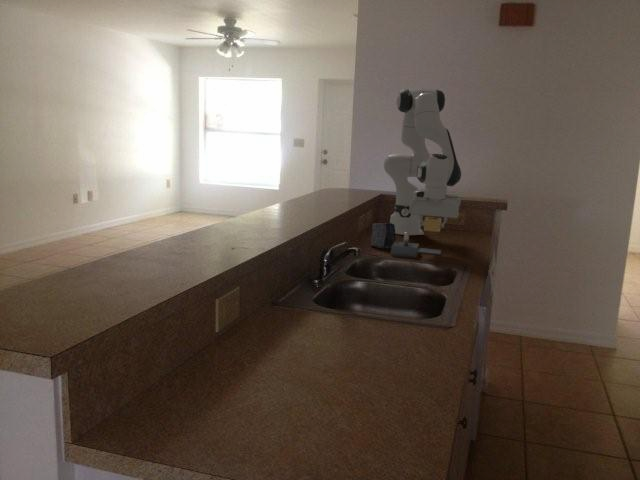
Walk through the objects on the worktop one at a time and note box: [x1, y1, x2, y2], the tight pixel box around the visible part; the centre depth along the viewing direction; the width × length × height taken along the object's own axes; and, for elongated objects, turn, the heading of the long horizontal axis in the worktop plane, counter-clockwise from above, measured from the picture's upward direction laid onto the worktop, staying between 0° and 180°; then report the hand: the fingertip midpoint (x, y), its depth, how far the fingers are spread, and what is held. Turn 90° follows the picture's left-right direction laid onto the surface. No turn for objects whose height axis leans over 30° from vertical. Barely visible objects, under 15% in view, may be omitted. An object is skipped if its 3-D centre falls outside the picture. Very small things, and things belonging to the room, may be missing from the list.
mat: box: [418, 247, 442, 256], centre depth 239 cm, size 9×9×1 cm
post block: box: [390, 232, 420, 259], centre depth 231 cm, size 10×10×9 cm
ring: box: [423, 216, 442, 233], centre depth 237 cm, size 6×6×5 cm
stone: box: [370, 222, 397, 250], centre depth 244 cm, size 12×10×10 cm
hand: (432, 226), depth 237 cm, fingers closed on ring, 6 cm apart
